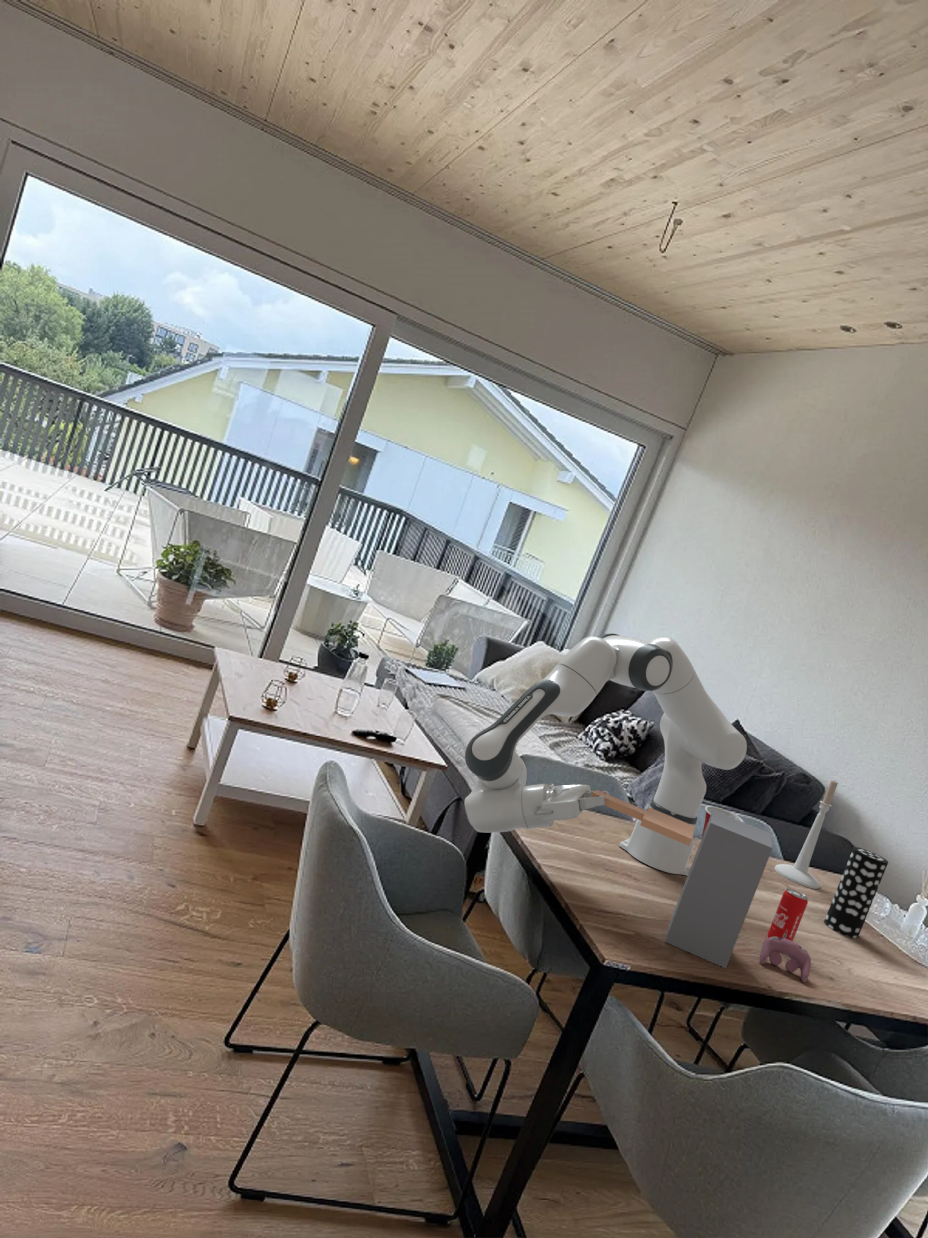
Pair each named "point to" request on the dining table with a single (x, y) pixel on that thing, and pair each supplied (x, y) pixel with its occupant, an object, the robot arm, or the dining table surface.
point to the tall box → (719, 888)
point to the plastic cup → (725, 812)
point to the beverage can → (788, 915)
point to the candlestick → (808, 847)
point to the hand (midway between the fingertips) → (606, 797)
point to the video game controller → (791, 949)
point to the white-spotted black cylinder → (855, 892)
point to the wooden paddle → (652, 819)
